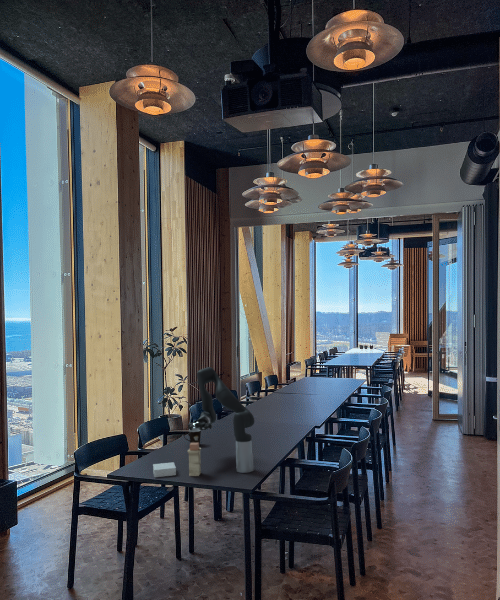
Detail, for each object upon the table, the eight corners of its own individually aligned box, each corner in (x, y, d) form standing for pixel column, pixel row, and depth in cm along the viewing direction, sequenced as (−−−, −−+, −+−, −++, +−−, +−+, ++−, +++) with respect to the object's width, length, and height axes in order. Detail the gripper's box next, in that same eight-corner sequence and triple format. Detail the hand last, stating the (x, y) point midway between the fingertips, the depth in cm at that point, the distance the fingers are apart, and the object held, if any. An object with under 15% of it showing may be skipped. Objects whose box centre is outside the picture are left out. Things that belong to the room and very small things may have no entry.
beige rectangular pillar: (190, 472, 281) (190, 447, 282) (201, 472, 281) (201, 447, 281) (188, 476, 275) (187, 450, 276) (199, 476, 274) (198, 450, 275)
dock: (173, 469, 289) (173, 462, 290) (175, 475, 278) (175, 467, 278) (153, 471, 286) (153, 464, 287) (154, 477, 275) (154, 470, 275)
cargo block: (191, 448, 281) (191, 442, 281) (199, 448, 280) (198, 442, 281) (189, 450, 277) (189, 444, 277) (197, 450, 276) (197, 444, 276)
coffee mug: (202, 443, 350) (202, 429, 351) (200, 446, 342) (199, 431, 342) (186, 443, 352) (186, 429, 352) (183, 446, 343) (183, 431, 343)
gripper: (191, 416, 307) (185, 421, 291) (214, 416, 306) (209, 421, 289) (192, 428, 307) (186, 434, 291) (214, 428, 305) (209, 434, 289)
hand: (197, 428), depth 290 cm, fingers open, 8 cm apart
